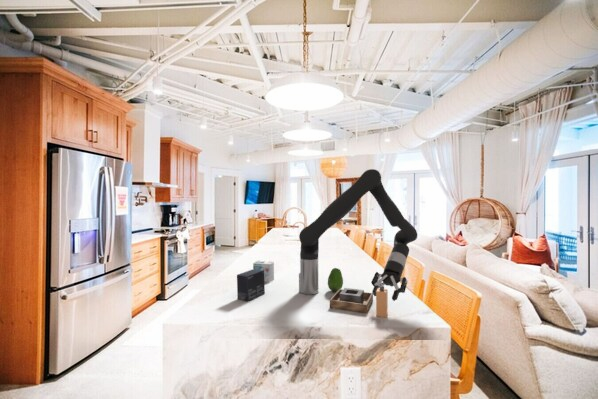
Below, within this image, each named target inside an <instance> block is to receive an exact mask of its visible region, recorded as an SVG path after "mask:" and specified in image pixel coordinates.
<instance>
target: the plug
mask: <svg viewBox="0 0 598 399" xmlns="http://www.w3.org/2000/svg"><path fill="white" fill-rule="evenodd" d="M388 292H389V290H388V289H387V288H386V289H385V285H384V286H380V288H378V289H377V291H376V296H375V306H376V307H375V308H376V309H375V312H376V313H375V316H376V317H381V318H387V317H388V313H389V310H388V308H389V307H388V306H389V304H388V298H389V297H388Z"/></svg>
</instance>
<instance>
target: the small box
mask: <svg viewBox="0 0 598 399" xmlns="http://www.w3.org/2000/svg"><path fill="white" fill-rule="evenodd" d="M265 286H266V285H265V282H264V270H258V269H253V268H252V269H249V270H247V271H244V272H240V273H238V274H236V288H237V295H236V296H237V300H240V301H244V302H250V301H252V300H254V299H256V298H258V297H260V296H262V295H265V291H266V290H265Z"/></svg>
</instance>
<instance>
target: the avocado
mask: <svg viewBox="0 0 598 399" xmlns="http://www.w3.org/2000/svg"><path fill="white" fill-rule="evenodd" d="M342 274H343V273H342V271H341V269H340V268H338V267H337V268H336V267H334V268H332V269H331V271H330V273H329V275H328V278H327V286H328V289H329V290H331V292H335V293H336V292H337V291H338V290H339V289H342V287H343V285H344V278H343V275H342Z"/></svg>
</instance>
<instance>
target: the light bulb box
mask: <svg viewBox="0 0 598 399" xmlns="http://www.w3.org/2000/svg"><path fill="white" fill-rule="evenodd" d="M252 265H253V266H252V267H253V268H252V270H253V269H258V270H264V283H268V284H269V283H271V282H273V281H274V280H275V261H271V260H269V261H267V260H257V261H254V262H253V263H252Z"/></svg>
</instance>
